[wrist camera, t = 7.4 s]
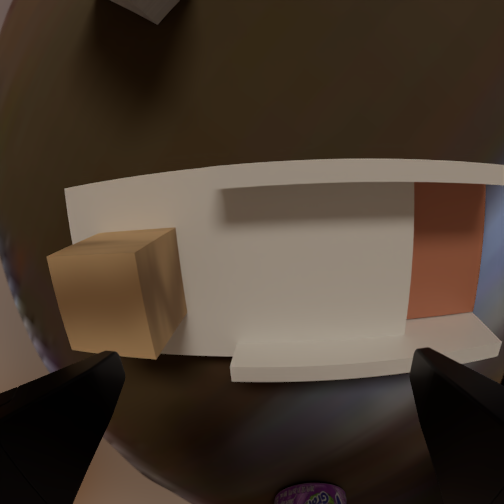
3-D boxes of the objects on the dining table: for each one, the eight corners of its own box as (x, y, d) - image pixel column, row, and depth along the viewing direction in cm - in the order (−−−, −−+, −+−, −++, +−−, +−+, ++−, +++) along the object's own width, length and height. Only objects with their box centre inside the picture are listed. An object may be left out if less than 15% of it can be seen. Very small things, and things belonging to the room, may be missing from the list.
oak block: (187, 312, 18) (156, 359, 14) (114, 310, 19) (72, 349, 14) (175, 227, 17) (134, 252, 12) (99, 233, 18) (46, 256, 13)
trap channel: (468, 323, 19) (497, 356, 14) (111, 334, 22) (80, 366, 18) (482, 163, 16) (524, 167, 12) (82, 185, 19) (38, 193, 15)
